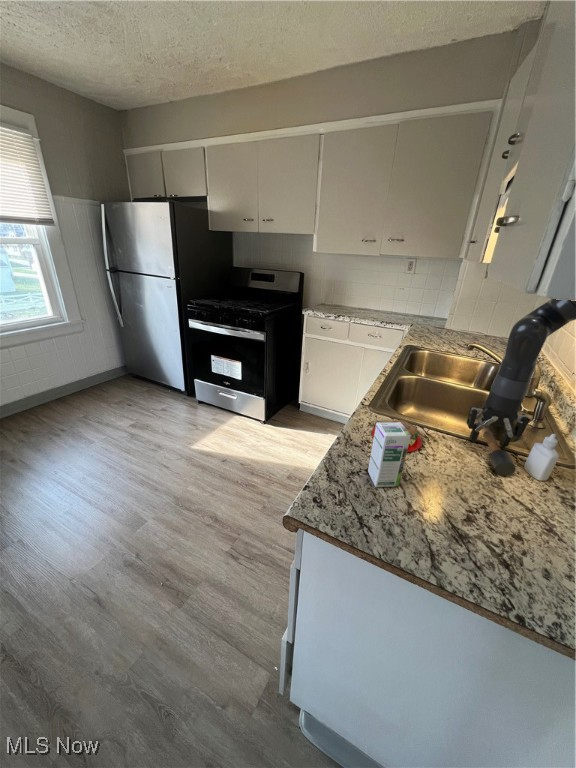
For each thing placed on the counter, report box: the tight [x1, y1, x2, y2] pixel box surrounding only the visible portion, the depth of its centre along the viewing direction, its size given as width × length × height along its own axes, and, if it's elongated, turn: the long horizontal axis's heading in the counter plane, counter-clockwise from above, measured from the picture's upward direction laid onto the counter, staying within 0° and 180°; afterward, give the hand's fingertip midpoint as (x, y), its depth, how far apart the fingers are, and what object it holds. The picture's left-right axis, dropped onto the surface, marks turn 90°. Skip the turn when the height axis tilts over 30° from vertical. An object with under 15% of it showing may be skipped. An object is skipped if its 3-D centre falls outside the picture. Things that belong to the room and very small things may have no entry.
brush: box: [483, 430, 517, 477], centre depth 83 cm, size 4×4×15 cm
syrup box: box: [367, 422, 410, 488], centre depth 72 cm, size 6×6×14 cm
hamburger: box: [371, 419, 423, 453], centre depth 90 cm, size 14×14×6 cm
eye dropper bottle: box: [523, 433, 560, 482], centre depth 77 cm, size 4×6×12 cm
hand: (487, 443), depth 89 cm, fingers open, 7 cm apart
